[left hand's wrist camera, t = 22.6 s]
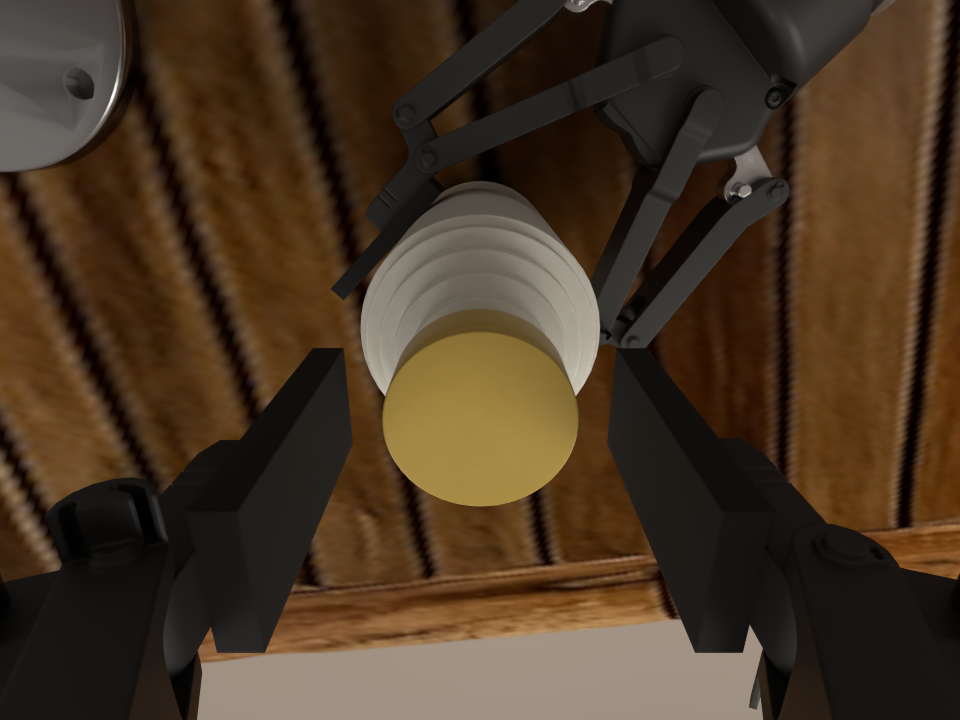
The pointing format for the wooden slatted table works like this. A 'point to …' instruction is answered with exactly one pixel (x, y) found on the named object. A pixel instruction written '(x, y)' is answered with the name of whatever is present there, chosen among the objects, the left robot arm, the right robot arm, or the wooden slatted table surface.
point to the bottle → (480, 278)
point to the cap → (480, 409)
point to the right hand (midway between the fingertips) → (413, 347)
